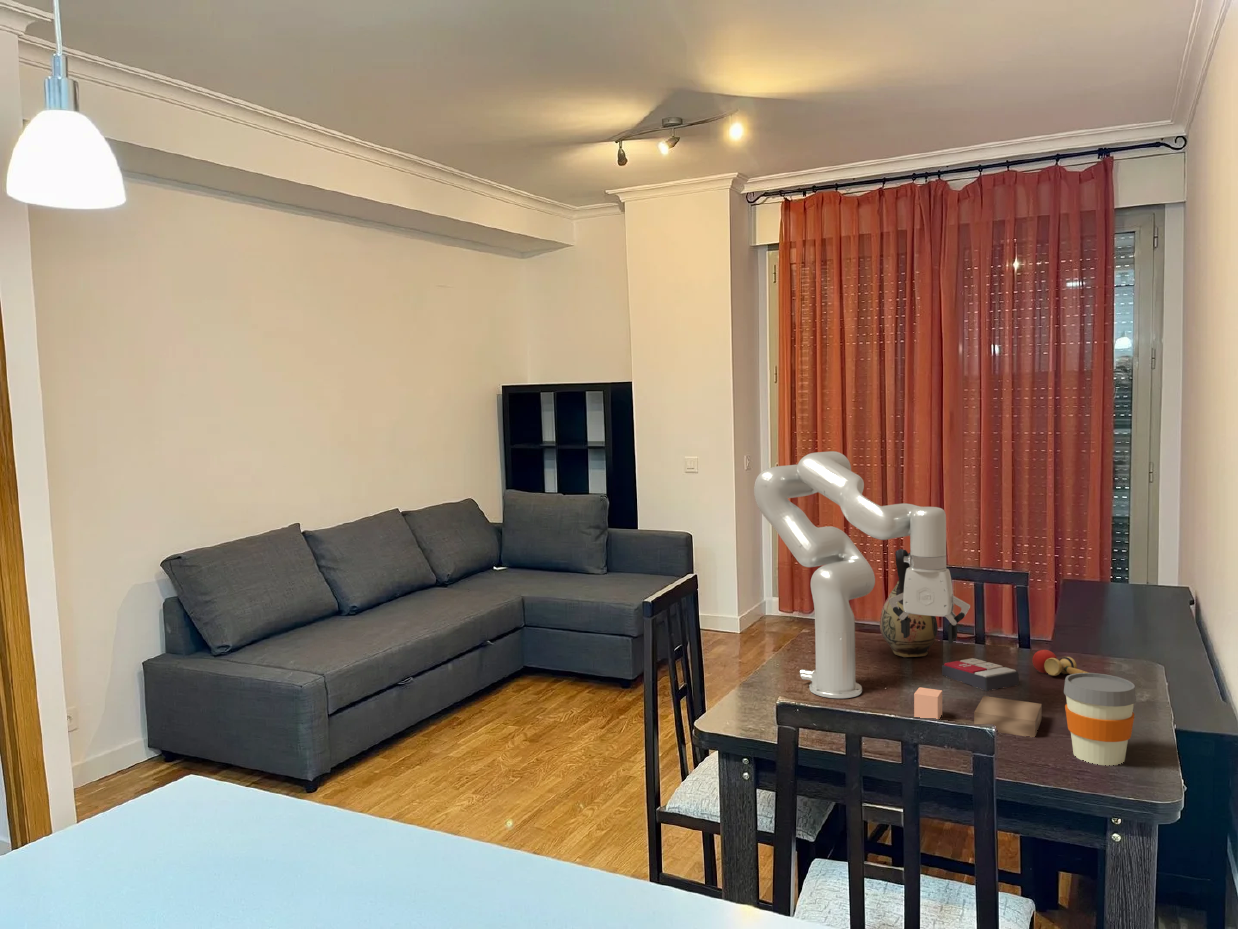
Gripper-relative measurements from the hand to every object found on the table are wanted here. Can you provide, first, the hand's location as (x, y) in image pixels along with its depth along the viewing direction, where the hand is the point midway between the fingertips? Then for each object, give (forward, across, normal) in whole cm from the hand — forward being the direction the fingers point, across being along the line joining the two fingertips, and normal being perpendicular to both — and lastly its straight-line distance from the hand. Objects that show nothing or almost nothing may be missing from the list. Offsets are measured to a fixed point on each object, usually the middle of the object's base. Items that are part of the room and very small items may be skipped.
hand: (928, 639), depth 198 cm
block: (+18, 0, 0) cm, 18 cm away
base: (+18, +16, +4) cm, 25 cm away
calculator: (+19, +5, +34) cm, 39 cm away
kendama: (+18, +24, +45) cm, 54 cm away
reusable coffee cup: (+18, +34, -7) cm, 39 cm away
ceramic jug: (+18, -16, +49) cm, 55 cm away
